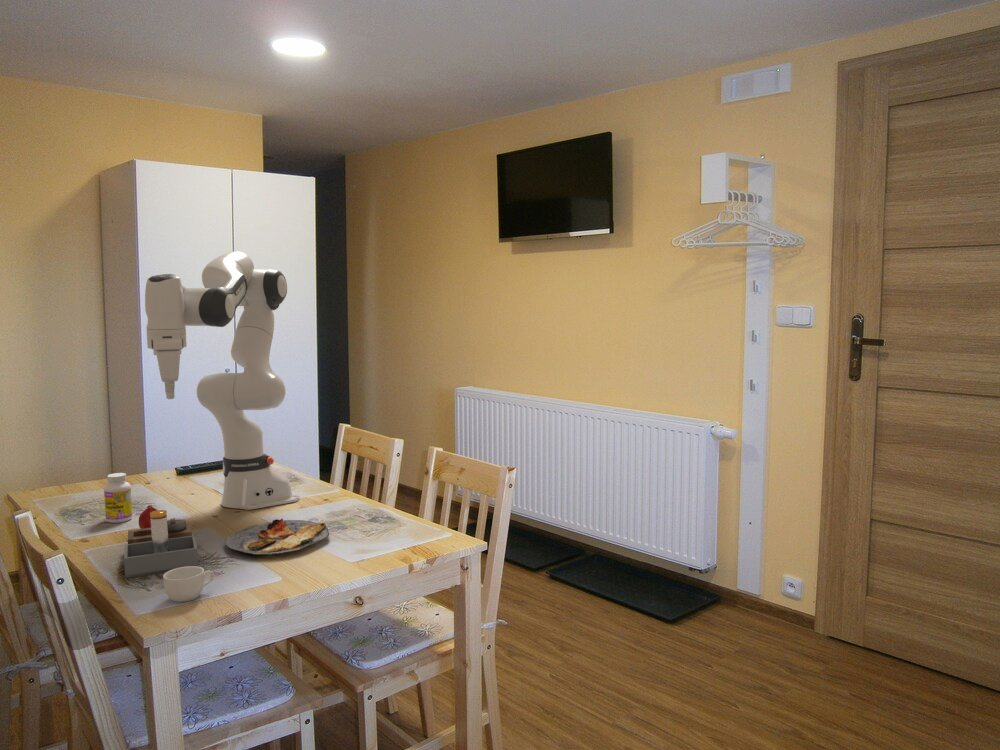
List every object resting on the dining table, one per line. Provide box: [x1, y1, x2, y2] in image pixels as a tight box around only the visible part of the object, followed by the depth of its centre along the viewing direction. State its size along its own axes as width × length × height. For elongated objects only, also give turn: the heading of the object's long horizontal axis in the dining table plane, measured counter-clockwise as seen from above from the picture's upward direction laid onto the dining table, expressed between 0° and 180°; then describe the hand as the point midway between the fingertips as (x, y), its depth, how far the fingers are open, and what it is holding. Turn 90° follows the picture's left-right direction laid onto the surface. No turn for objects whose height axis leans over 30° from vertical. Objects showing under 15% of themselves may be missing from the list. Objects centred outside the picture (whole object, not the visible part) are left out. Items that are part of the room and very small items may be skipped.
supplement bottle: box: [103, 472, 133, 524], centre depth 209 cm, size 7×7×13 cm
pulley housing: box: [127, 518, 193, 544], centre depth 184 cm, size 14×8×8 cm, turn 115°
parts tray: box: [123, 535, 199, 579], centre depth 174 cm, size 15×10×4 cm
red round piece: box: [138, 504, 158, 529], centre depth 196 cm, size 6×6×8 cm
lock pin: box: [150, 509, 169, 554], centre depth 174 cm, size 3×3×12 cm
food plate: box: [224, 518, 330, 556], centre depth 190 cm, size 25×23×4 cm
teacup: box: [162, 565, 215, 603], centre depth 156 cm, size 10×8×5 cm
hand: (169, 396), depth 187 cm, fingers open, 8 cm apart
